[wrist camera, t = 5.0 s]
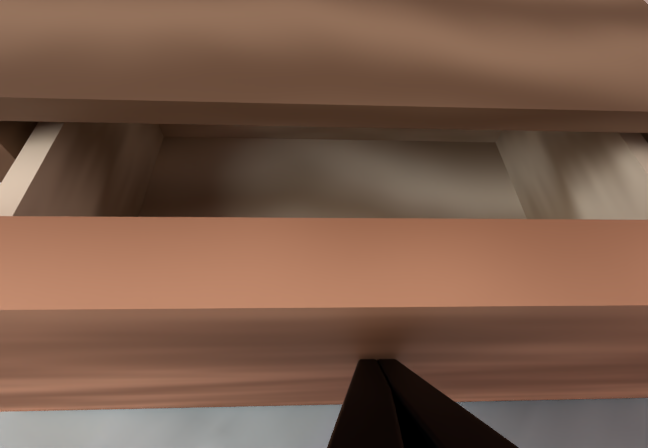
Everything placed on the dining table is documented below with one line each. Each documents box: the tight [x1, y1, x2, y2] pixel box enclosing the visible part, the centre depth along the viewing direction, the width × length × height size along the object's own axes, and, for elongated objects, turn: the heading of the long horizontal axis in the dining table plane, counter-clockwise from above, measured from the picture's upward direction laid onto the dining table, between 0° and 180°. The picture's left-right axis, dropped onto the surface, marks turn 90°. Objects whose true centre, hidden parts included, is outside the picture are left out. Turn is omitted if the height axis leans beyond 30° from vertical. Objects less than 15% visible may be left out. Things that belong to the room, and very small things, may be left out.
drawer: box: [0, 122, 648, 412], centre depth 13 cm, size 14×25×10 cm, turn 91°
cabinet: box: [0, 0, 648, 182], centre depth 18 cm, size 14×24×9 cm, turn 91°
